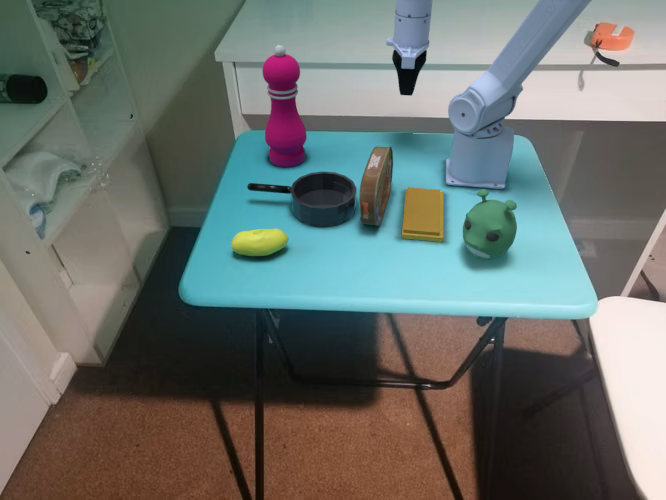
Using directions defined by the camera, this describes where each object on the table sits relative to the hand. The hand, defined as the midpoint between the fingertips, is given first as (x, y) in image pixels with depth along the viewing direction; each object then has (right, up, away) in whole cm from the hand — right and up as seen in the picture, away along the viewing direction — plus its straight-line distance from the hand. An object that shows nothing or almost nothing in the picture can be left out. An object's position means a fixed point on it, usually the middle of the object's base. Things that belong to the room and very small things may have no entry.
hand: (406, 93), depth 95 cm
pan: (-14, -21, -10) cm, 27 cm away
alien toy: (+8, -28, -19) cm, 35 cm away
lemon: (-23, -28, -18) cm, 41 cm away
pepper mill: (-21, -11, +2) cm, 24 cm away
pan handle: (-23, -18, -10) cm, 31 cm away
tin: (-6, -21, -10) cm, 24 cm away
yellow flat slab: (+1, -22, -12) cm, 25 cm away
